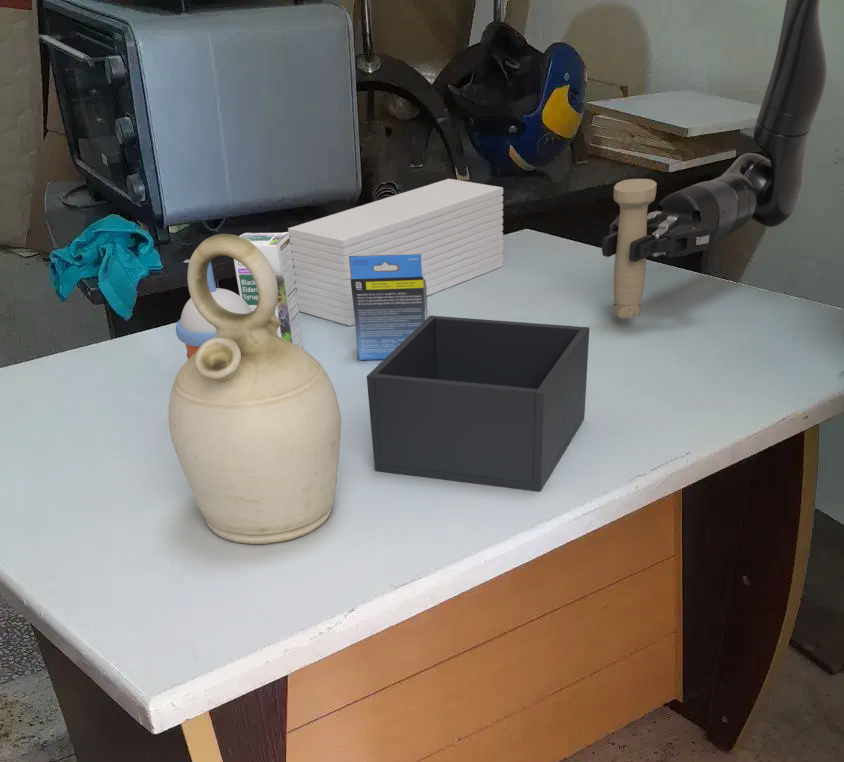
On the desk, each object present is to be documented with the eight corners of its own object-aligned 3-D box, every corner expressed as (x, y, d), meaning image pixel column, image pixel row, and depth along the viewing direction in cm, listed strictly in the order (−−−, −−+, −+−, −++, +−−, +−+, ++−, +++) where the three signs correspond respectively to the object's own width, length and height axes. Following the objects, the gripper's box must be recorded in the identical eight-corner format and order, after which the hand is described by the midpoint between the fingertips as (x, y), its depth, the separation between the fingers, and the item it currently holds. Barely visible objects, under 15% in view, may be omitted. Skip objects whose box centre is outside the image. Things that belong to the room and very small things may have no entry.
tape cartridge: (430, 348, 129) (426, 244, 121) (427, 360, 126) (422, 253, 118) (361, 349, 130) (352, 246, 122) (357, 361, 127) (347, 255, 119)
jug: (285, 570, 90) (237, 271, 73) (157, 531, 96) (86, 249, 80) (381, 497, 99) (357, 218, 83) (258, 466, 106) (214, 201, 89)
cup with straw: (179, 427, 114) (142, 257, 103) (220, 396, 121) (189, 232, 109) (249, 436, 112) (219, 262, 100) (287, 404, 118) (263, 237, 106)
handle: (603, 323, 129) (610, 192, 119) (612, 306, 133) (619, 178, 123) (641, 324, 127) (651, 192, 118) (649, 307, 132) (659, 178, 122)
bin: (584, 418, 111) (589, 327, 104) (540, 491, 98) (543, 392, 92) (433, 403, 116) (429, 315, 109) (374, 470, 104) (366, 375, 97)
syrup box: (249, 368, 127) (229, 243, 118) (262, 351, 131) (244, 229, 122) (293, 369, 126) (276, 243, 117) (305, 351, 131) (289, 229, 121)
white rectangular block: (350, 326, 137) (342, 240, 130) (298, 311, 143) (288, 228, 136) (502, 266, 154) (503, 187, 146) (450, 255, 159) (448, 178, 152)
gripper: (652, 179, 134) (573, 209, 125) (749, 191, 126) (671, 224, 117) (648, 240, 138) (570, 273, 130) (740, 256, 131) (664, 292, 122)
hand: (618, 250), depth 123 cm, fingers closed on handle, 3 cm apart
